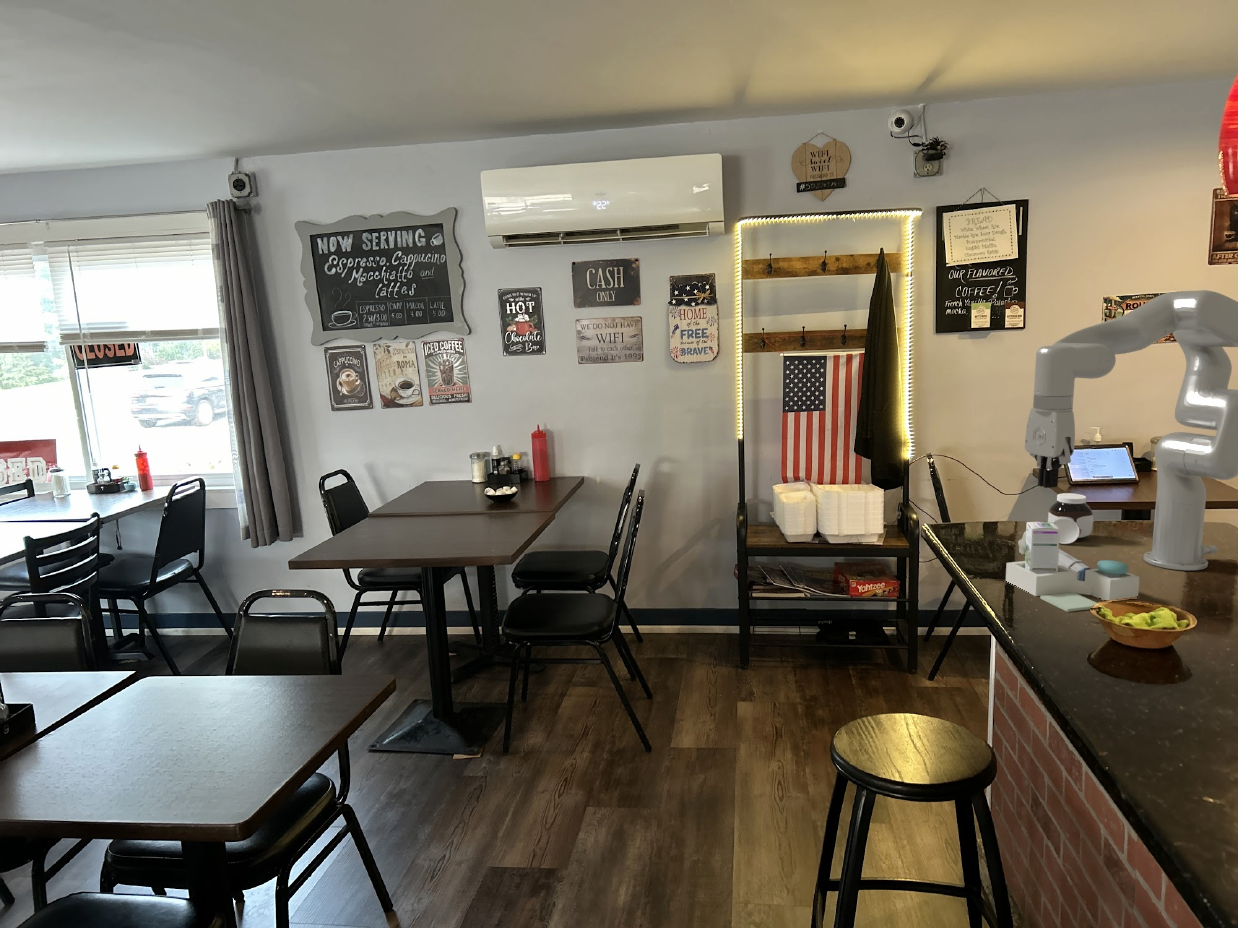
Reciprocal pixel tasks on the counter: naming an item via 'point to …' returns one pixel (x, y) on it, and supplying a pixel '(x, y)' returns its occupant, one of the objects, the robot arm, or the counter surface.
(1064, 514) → the spread jar
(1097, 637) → the counter surface
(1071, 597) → the mat
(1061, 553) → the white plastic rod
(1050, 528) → the syrup box
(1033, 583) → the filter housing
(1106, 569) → the teal mushroom knob
